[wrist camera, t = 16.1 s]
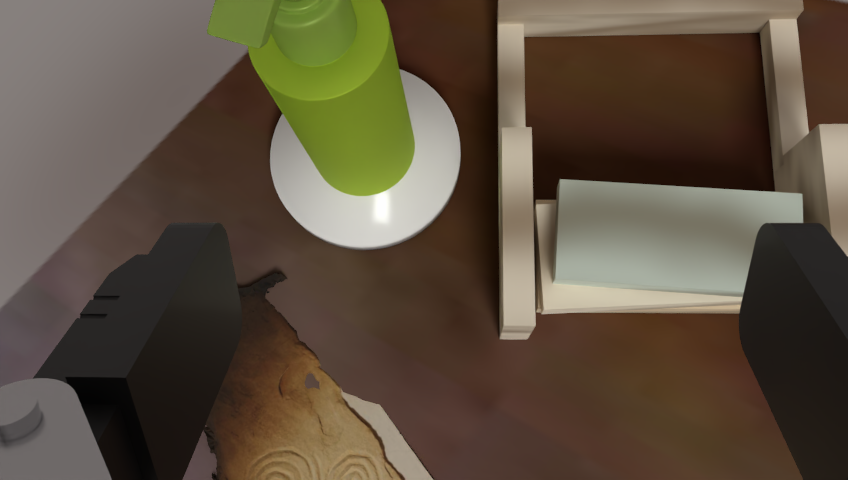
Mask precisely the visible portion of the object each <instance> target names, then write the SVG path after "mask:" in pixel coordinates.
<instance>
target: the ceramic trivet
mask: <svg viewBox="0 0 848 480" xmlns="http://www.w3.org/2000/svg"><path fill="white" fill-rule="evenodd" d="M399 70H400V75H401V80H402V84H403V89H404V93H405V98H406V102H407V107H408V112H409V116H410V121H411V125H412V130H413V134H414V140H415V151H414V157H413V160H412V163H411V165H410V168H409V169H408V171H407V173H406V174H405V175H404V177H403V178H402V179H401V180H400V181H399V182H398V183H397V184H395V185H394V186H393V187H391V188H390V189H388V190H386V191H384V192H381V193H379V194H375V195H370V196H354V195H349V194H345V193H343V192H340V191H338V190H336V189H335V188H333V187H332V186H331V185H329V184H328V183H327V182H326V181H325V180H324V179H323V177H322V176H321V175H320V173H319V171H318V170H317V168H316V167H315V165H314V163H313V162H312V160H311V158H310V157H309V155H308V154H307V152H306V150H305V149H304V147H303V146H302V144H301V142H300V141H299V139H298V138H297V136H296V134H295V133H294V131H293V129H292V128H291V126H290V125H289V123H288V121H287V120H286V118H285V117H284V115H283V114H282V115H281V117H280V119H279V121H278V124H277V126H276V128H275V131H274V135H273V138H272V143H271V150H270V166H271V174H272V178H273V182H274V186H275V188H276V191H277V193H278V195H279V198H280V199H281V201H282V203H283V204H284V206H285V207H286V209H287V210H288V211H289V212H290V214H291V215H292V216H293V217H294V218H295V220H296V221H297V222H298V223H299V224H300V225H301V226H302V227H304V228H305V229H306V230H307V231H308V232H310V233H311V234H313V235H314V236H315V237H317V238H319V239H321V240H323V241H325V242H327V243H329V244H332V245H335V246H338V247H342V248H347V249H353V250H376V249H382V248H387V247H391V246H394V245H397V244H400V243H402V242H404V241H407V240H409V239H411V238H413V237H414V236H416V235H417V234H419V233H421V232H422V231H423V230H425V229H426V228H427V227H428V226H429V225H431V224H432V223H433V222H434V221H435V220H436V219H437V217H438V216H439V215H440V214H441V213H442V211H443V210H444V209H445V207H446V206H447V204H448V202H449V201H450V199H451V197H452V195H453V193H454V190H455V187H456V185H457V182H458V177H459V173H460V163H461V153H460V139H459V134H458V129H457V126H456V123H455V120H454V117H453V115H452V113H451V112H450V110H449V108H448V106H447V105H446V103H445V102H444V100H443V99H442V98H441V96H440V95H439V94H438V93H437V92H436V91H435V90H434V89H433V88H432V87H431V86H429V85H428V84H427V83H426V82H424V81H423V80H421V79H420V78H418V77H416V76H415V75H413V74H410V73H408V72H406V71H404V70H401V69H399Z"/></svg>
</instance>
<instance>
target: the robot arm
mask: <svg viewBox="0 0 848 480" xmlns="http://www.w3.org/2000/svg"><path fill="white" fill-rule="evenodd" d="M241 328H242V309H241V302H240V297H239V292H238V287H237V282H236V277H235V272H234V267H233V262H232V257H231V252H230V247H229V242H228V237H227V233H226V230H225V228H224V227H223V225H222V224H220V223H171V224H169V225H168V226H167V228H166V229H165V231H164V232H163V233H162V235H161V236H160V238H159V239H158V241H157V242H156V244H155V245H154V247H153V248H152V250H151V251H150V253H149V254H148V255H135V256H134V257H133V258H131V259H130V260H128V261H127V262H125V263H124V264H123V265H121V266H120V267H118V268H117V269H115V270H114V271H113V272H111V273H110V274H109V275H108V276H107V278H106V279H105V280H104V282H103V283H102V285H101V286H100V287H99V289H98V290H97V291H96V293H95V294H94V299H93V300H90V301H89V302H88V304H87V305H86V306H85V308H84V309H83V311H82V312H81V313H80V318H77V319H76V320H75V322H74V323H73V324H72V326H71V327H70V328H69V330H68V331H67V332H66V334H65V335H64V337H63V338H62V339H61V341H60V342H59V343H58V345H57V346H56V348H55V349H54V350H53V352H52V353H51V354H50V356H49V357H48V358H47V360H46V361H45V363H44V364H43V365H42V367H41V368H40V369H39V371H38V372H37V374H36V375H35V376H34V378H33V379H27V380H22V381H18V382H14V383H11V384H8V385H5V386H2V387H0V480H182V479H183V477H184V474H185V472H186V470H187V467H188V465H189V462H190V460H191V458H192V455H193V453H194V450H195V448H196V445H197V443H198V441H199V438H200V436H201V433H202V431H203V429H204V426H205V424H206V421H207V419H208V417H209V414H210V412H211V409H212V407H213V404H214V402H215V400H216V397H217V395H218V392H219V390H220V388H221V385H222V383H223V380H224V378H225V376H226V373H227V371H228V368H229V366H230V363H231V361H232V359H233V356H234V354H235V351H236V349H237V347H238V344H239V340H240V335H241ZM739 333H740V340H741V344H742V348H743V351H744V353H745V355H746V357H747V359H748V362H749V364H750V366H751V368H752V370H753V372H754V375H755V377H756V379H757V381H758V383H759V385H760V387H761V390H762V392H763V394H764V396H765V398H766V400H767V402H768V405H769V407H770V409H771V411H772V413H773V415H774V417H775V420H776V422H777V424H778V426H779V428H780V430H781V432H782V435H783V437H784V439H785V441H786V443H787V445H788V447H789V450H790V452H791V454H792V456H793V458H794V460H795V462H796V465H797V467H798V469H799V471H800V473H801V475H802V477H803V480H848V257H847V255H846V254H845V253H844V251H843V250H842V249H841V247H840V246H839V245H838V244H837V242H836V241H835V240H834V238H833V237H832V236H831V235H830V233H829V232H828V231H827V229H826V228H825V227H824V226H823V225H822V224H820V223H765V224H763V225H762V226H761V227H760V229H759V231H758V233H757V236H756V240H755V244H754V249H753V253H752V258H751V262H750V267H749V271H748V276H747V280H746V285H745V289H744V293H743V298H742V302H741V307H740V313H739Z"/></svg>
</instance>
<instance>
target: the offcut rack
mask: <svg viewBox="0 0 848 480" xmlns="http://www.w3.org/2000/svg"><path fill="white" fill-rule="evenodd" d="M803 10H804V9H803V0H498V6H497V73H498V195H499V317H500V339H528V337H529V336H530V334H531V332H532V331H533V329H534V327H535V326H536V322H535V297H536V312H541V314H554V313H740V307H741V302H742V298H743V293H744V289H745V285H746V280H747V276H748V271H749V267H750V262H751V258H752V253H753V249H754V244H755V240H756V236H757V233H758V231H759V229H760V227H761V226H762V225H763V224H765V223H820V224H822V225H823V226H824V227H825V228H826V229H827V231H828V232H829V233H830V235H831V236H832V237H833V238H834V240H835V241H836V242H837V244H838V245H839V246H840V247H841V249H842V250H843V251H844V253H845V254H846V255H847V257H848V124H819V125H818V126H816V127H815V128H814V129H813V130H812V131H811V132H810V133H809V130H808V121H807V112H806V103H805V94H804V85H803V76H802V67H801V57H800V48H799V39H798V30H797V21H796V19H797V17H798V16H799V15H800V14H801V12H802V11H803ZM711 33H760V39H761V50H762V60H763V70H764V81H765V91H766V101H767V111H768V122H769V132H770V142H771V153H772V163H773V173H774V183H775V192H767V191H750V190H734V189H717V188H700V187H684V186H667V185H650V184H634V183H617V182H600V181H584V180H567V179H560V180H559V183H558V186H557V200H536V201H535V205H534V219H533V167H532V127H525V74H524V37H547V36H601V35H656V34H711ZM534 246H535V271H534Z"/></svg>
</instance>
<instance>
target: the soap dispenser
mask: <svg viewBox="0 0 848 480" xmlns="http://www.w3.org/2000/svg"><path fill="white" fill-rule="evenodd" d="M207 33H208V34H209V35H212V36H215V37H219V38H222V39H225V40H229V41H232V42H236V43H240V44H243V45H247V46H248V51H249V55H250V59H251V61H252V64H253V66H254V68H255V70H256V72H257V73H258V75H259V76H260V78H261V80H262V81H263V83H264V84H265V86H266V88H267V89H268V91H269V92H270V94H271V96H272V97H273V99H274V101H275V102H276V104H277V105H278V107H279V109H280V110H281V112H282V113H283V115H284V117H285V118H286V120H287V121H288V123H289V125H290V126H291V128H292V129H293V131H294V133H295V134H296V136H297V138H298V139H299V141H300V142H301V144H302V146H303V147H304V149H305V150H306V152H307V154H308V155H309V157H310V158H311V160H312V162H313V163H314V165H315V167H316V168H317V170H318V171H319V173H320V175H321V176H322V177H323V179H324V180H325V181H326V182H327V183H328V184H329V185H331V186H332V187H333V188H335V189H336V190H338V191H340V192H343V193H345V194H349V195H354V196H370V195H375V194H379V193H381V192H384V191H386V190H388V189H390V188H391V187H393V186H394V185H395V184H397V183H398V182H399V181H400V180H401V179H402V178H403V177H404V175H405V174H406V173H407V171H408V169H409V168H410V165H411V163H412V160H413V157H414V151H415V140H414V134H413V130H412V125H411V121H410V116H409V112H408V107H407V102H406V98H405V93H404V89H403V84H402V80H401V75H400V70H399V66H398V61H397V57H396V52H395V47H394V43H393V38H392V34H391V29H390V25H389V20H388V16H387V13H386V10H385V8H384V5H383V4H382V2H381V0H215V3H214V7H213V10H212V14H211V18H210V21H209V25H208V29H207Z"/></svg>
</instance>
